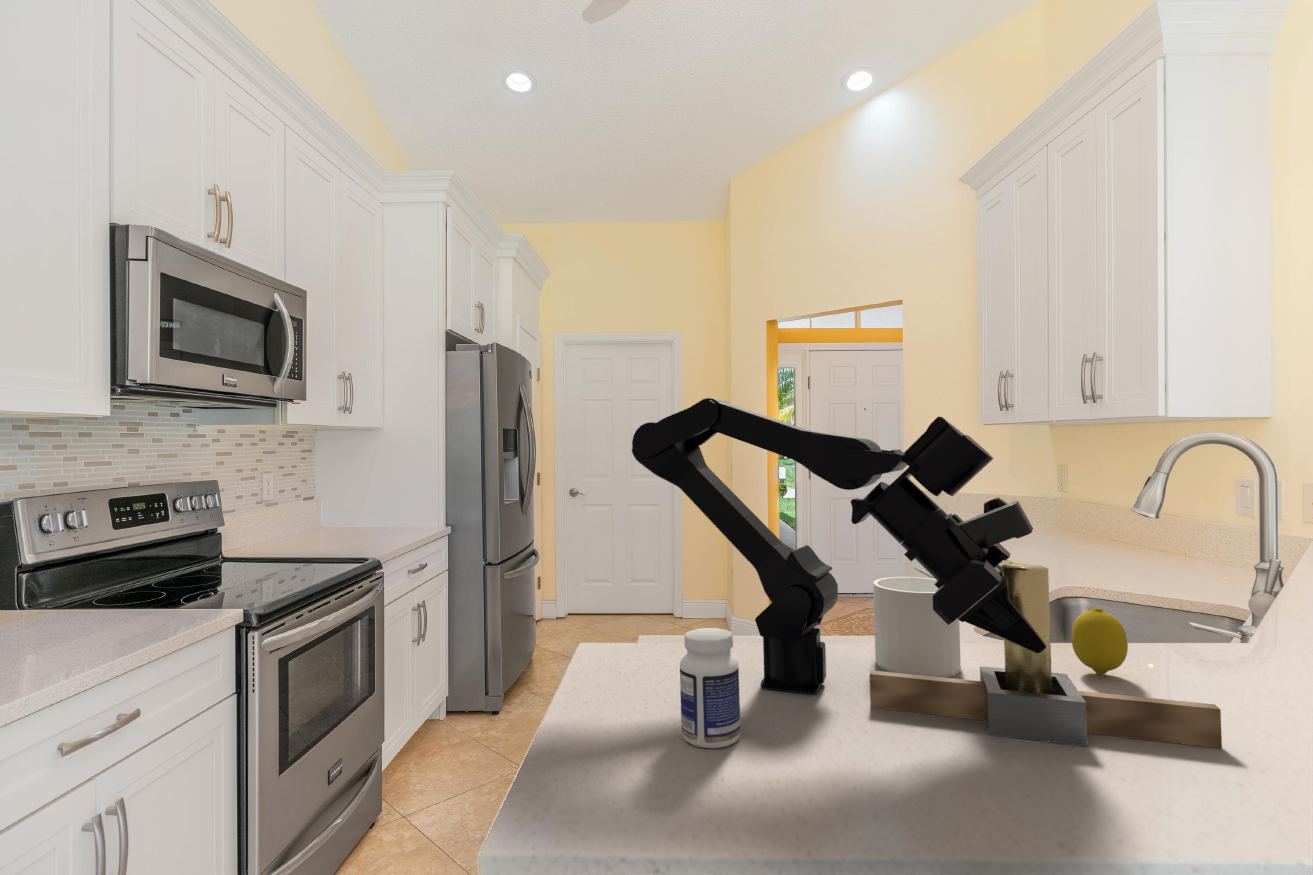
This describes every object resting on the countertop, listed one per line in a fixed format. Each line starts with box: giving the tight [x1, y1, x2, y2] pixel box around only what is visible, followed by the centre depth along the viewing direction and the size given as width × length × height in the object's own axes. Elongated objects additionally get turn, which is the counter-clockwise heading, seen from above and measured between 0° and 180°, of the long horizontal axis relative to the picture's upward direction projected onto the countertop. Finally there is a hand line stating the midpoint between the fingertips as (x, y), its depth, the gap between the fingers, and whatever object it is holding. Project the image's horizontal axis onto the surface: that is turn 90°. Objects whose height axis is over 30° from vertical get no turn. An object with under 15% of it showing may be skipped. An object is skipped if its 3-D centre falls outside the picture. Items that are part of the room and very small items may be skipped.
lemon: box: [1071, 607, 1129, 676], centre depth 77 cm, size 6×6×8 cm
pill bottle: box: [679, 627, 741, 749], centre depth 63 cm, size 6×6×10 cm
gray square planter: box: [979, 665, 1089, 748], centre depth 64 cm, size 8×8×4 cm
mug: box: [872, 576, 962, 678], centre depth 83 cm, size 13×10×10 cm
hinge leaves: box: [869, 670, 1223, 749], centre depth 64 cm, size 30×1×4 cm, turn 68°
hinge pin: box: [1001, 563, 1052, 695], centre depth 64 cm, size 4×4×14 cm
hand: (1043, 644), depth 64 cm, fingers closed on hinge pin, 4 cm apart
